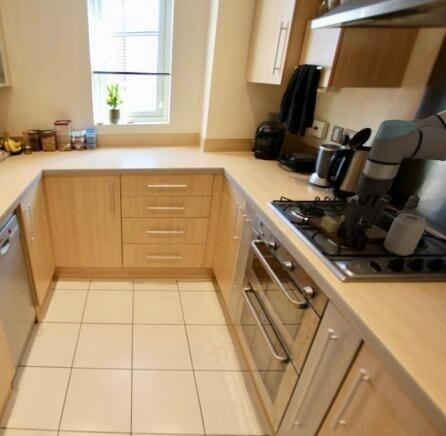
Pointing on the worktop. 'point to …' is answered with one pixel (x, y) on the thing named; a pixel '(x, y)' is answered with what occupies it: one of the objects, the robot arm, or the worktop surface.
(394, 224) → the can
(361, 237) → the knife
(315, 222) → the board
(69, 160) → the worktop surface
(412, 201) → the salt shaker
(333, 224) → the butter slice
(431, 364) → the worktop surface
